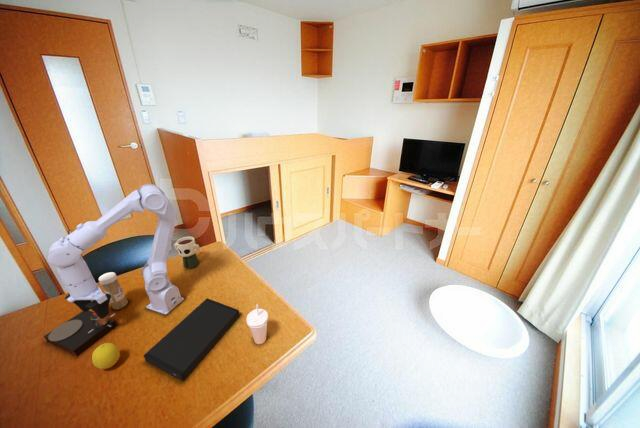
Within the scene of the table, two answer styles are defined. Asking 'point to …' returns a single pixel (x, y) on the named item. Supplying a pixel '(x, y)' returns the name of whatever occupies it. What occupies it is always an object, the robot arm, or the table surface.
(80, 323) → the burner
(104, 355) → the lemon
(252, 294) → the table surface
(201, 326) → the external hard drive
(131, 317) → the table surface
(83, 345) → the hob
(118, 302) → the sprinkles bottle
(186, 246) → the character mug
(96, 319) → the cupcake
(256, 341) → the smoothie
